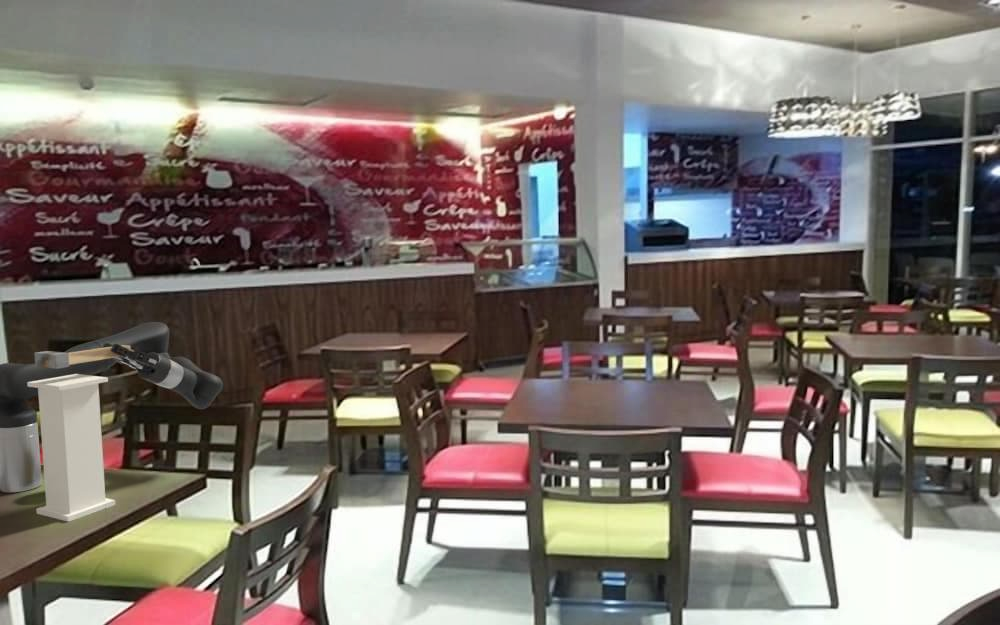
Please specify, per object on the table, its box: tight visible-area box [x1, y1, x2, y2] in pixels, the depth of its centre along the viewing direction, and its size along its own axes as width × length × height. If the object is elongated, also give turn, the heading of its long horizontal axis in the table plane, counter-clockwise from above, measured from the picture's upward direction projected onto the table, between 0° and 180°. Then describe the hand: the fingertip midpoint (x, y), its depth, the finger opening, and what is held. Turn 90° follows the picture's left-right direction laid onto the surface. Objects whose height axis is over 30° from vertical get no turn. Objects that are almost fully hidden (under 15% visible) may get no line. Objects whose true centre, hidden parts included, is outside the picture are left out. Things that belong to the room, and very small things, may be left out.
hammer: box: [34, 345, 132, 369], centre depth 178 cm, size 8×21×3 cm, turn 154°
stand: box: [27, 374, 116, 522], centre depth 175 cm, size 12×12×32 cm
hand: (108, 347), depth 183 cm, fingers closed on hammer, 3 cm apart
